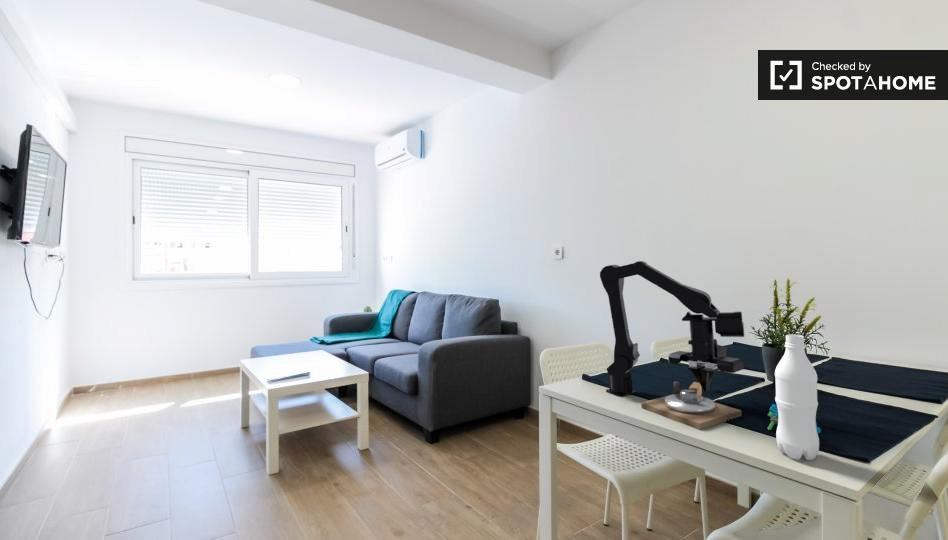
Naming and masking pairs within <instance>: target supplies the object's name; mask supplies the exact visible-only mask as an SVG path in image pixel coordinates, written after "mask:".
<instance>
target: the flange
mask: <svg viewBox="0 0 948 540" xmlns="http://www.w3.org/2000/svg"><path fill="white" fill-rule="evenodd" d="M702 391H703V388H702V387H701V385H700V383H699V382H698V381H697V382H696V381H693V382H692V383H691V384H690V386H689V387H688V389H680V392H681V394H674V393H673V394H674V395H673V394H669V395H670V396H669V395H666V396H667V397H666V398H665V405H666V406H667V407H668V408H670V409H672V410H675V411H679V412H683V413H691V414H704V413H709V412H712V411H714V410H715V403H716V402H715V401H713V400H712V399H710V398H708V397H705V396H702V393H703V392H702ZM714 402H715V403H714Z"/></svg>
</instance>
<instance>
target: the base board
mask: <svg viewBox="0 0 948 540" xmlns="http://www.w3.org/2000/svg"><path fill="white" fill-rule="evenodd" d="M680 386H681V383H680V381H676V380H675V381H673V394H672V395H674V394H681V387H680ZM670 395H671V394H669V395H665V396H662V397H658V398H654V399H650V400H646V401H642V402H641V403H640V404H641V409H643V410H646V411H648V412H652V413H654V414H656V415H660V416H662V417H664V418H668V419H670V420H673V421H675V422H679V423H681V424H683V425H686V426H689V427H691V428H694V429H697V430H702V429H706V428H709V427H712V426H715V425H719V424H721V423H722V424H723V423H724V422H727V420H728V421H730V420H729V419H731V420H734V419H737V418H740V417H742V410H741V409H739V408H735V407H731V406H730V405H729V406H728V405H725V404H722V403H719V402H716V401H713V402H714V403H715V410H714V411H712V412H709V413H704V414H691V413H683V412H679V411H675V410H672V409H670V408H668V407H667V406H666V405H665V398H666V397H667V396H670ZM733 418H734V419H733Z"/></svg>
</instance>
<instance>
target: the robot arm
mask: <svg viewBox="0 0 948 540" xmlns="http://www.w3.org/2000/svg"><path fill="white" fill-rule="evenodd" d="M633 276H640V277H641V278H643V279H645V280H647V281H648V282H650V283H652V284H654V285H655V286H657V287H658V288H660V289H662V290H663V291H665V292H667V293H669V294H670V295H672V296H674V298H676V299H677V300H678V301H679V303H681V305H683V306H684V307H686V308H687V309H688V310H689V311H686V314H685V315H684V316H683V317H682V318H681V321H682V322H689V331H690V340H688V342H687V344H688V345H691V352H690V351H682V350H677V351H674V352H671V353H669V355H668V356H667V359H668V364H673V365H679V364H680V363H682V362H684V363H685V362H686V363H688V366H687V370H690V371H691V373H692V374H693V375H694V377H695V378H696V380H697V382H699V383H700V385H701V387H702V391H703V392H704V393H707V392H709V390H710V386H711V383H712V380H713V377H714V376H715V373H716V372H717V371H719V372H722V373H728V374H734V373H735V374H736V373H737V372H740V371H743V370H745V369H744V368H745V367H744V362H743V361H742V360H741V358H736V357H728V356H727V349H728V348H727V347H726V346H723V345H721V344H718V340H717V338H714V329H715V334H717V335H720V337H723V338H745V328H744V327H745V325H744V321H743V312H742V311H731V312H727V311H725V312H722V311H720V310H719V309H718V308H717V307H716V306H715V305H714V304H713V303H712V298H711V295H710V294H709V293H707V292H706V291H704V290H700V289H698V288H696V287H692V286H688V285H686V284H683V283H681V282H679V281H678V280H676V279H674V278H672V277H671V276H668V275H667V274H665V273H664V272H662V271H660V270H658V269H656V268H654V267H653V266H651V265H650V264H648V263H647V262H646V261H644V260H638V261H635V262H632V263H629V264H624V265H621V266H620V265H619V264H611V265H610V264H608V265H607V266H606V265H605V266H604V267H602V268H601V270H600V271H599V278H600V281H601V284H602V287H603V288H604V290H605V292H606V294H607V297H608V302H609V303H608V304H609V309H610V315H611V316H610V317H611V320H612V326H613V327H612V328H613V332H614V333H613V334H614V339H615V344H614V349H613V362H612V363H611V364H610V365H609V366H608V367H607V368H606V371H607V374H608V377H609V380H608V381H609V383H608V384H609V388H608V389H607V388H606V389H605V392H606V393H609V394H612V395H615V396H617V397H624V396H628V395H632V394H636V393H637V392H636V390H633V379H632V373H630V371H631V370H632V368H634V367H635V365H636V364H637V362H638V361H639V357H640V356H641V355H640V353H639V350H638V349H639V345H638V342H636V343H633V341H632V339H631V337H630V331H629V323H628V319H627V317H628V316H627V313H626V306H625V300H624V285H625V278H628V277H633ZM691 312H692V313H693V314H692V313H691ZM704 316H706V317H704ZM713 322H714V324H713ZM720 358H721V359H720Z"/></svg>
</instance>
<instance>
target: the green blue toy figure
mask: <svg viewBox="0 0 948 540" xmlns="http://www.w3.org/2000/svg"><path fill="white" fill-rule="evenodd" d="M767 416H768V417H769V418H770V419H769V421H770V423H769V425H768V426H767V428H766V429H768V431H769V430H771V431H772V429H773V427H774V425H778V419H779V416H778V408H777V404H775V403H772V404H771V406H770V408H769V412H768V413H767ZM817 425H818V423H817V422H816V430H817V434H818V435H819V434H820V433H821V432H822V429H821V428H820V427H819V426H817Z"/></svg>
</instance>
